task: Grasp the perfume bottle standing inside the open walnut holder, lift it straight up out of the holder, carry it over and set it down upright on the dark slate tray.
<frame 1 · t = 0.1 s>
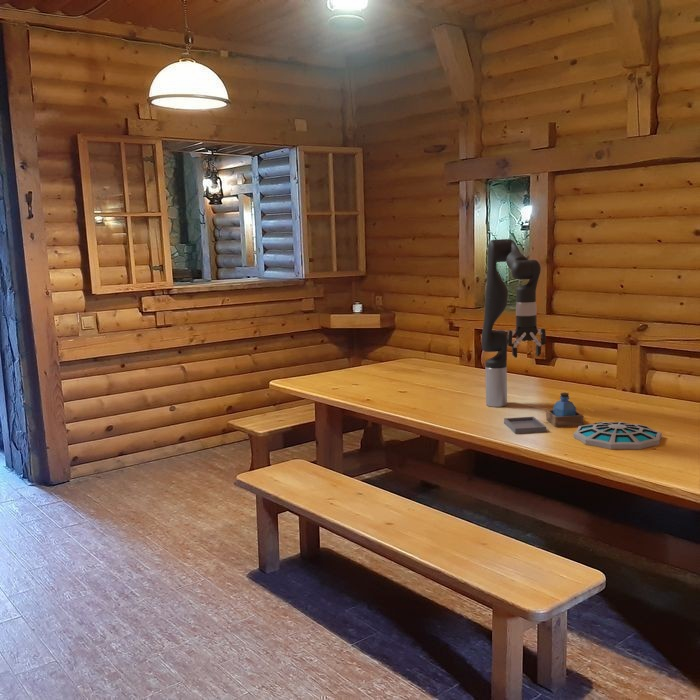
hand: (526, 356, 274), 29 cm above the table, fingers open, 8 cm apart
tray: (524, 427, 285), on the table
decorative platform: (617, 439, 265), on the table
holder: (564, 422, 288), on the table
perfume bottle: (564, 423, 288), resting in holder
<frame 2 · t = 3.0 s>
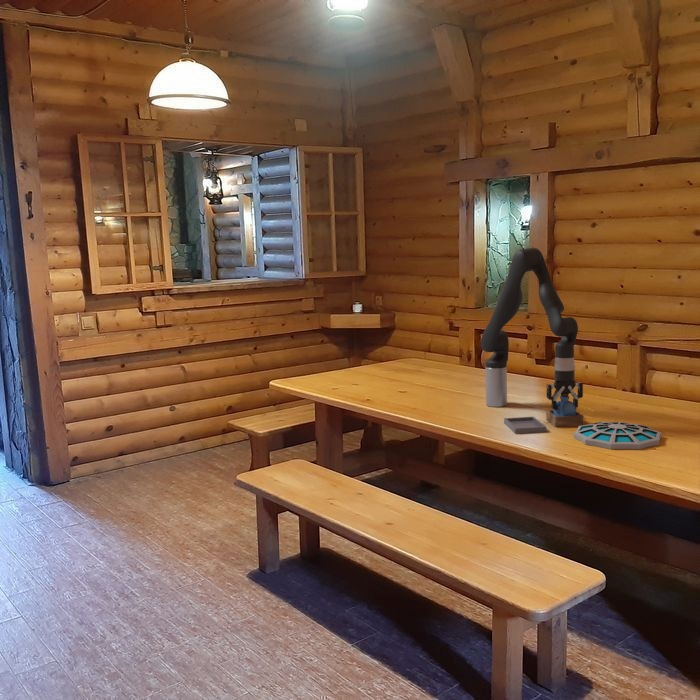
hand: (564, 409, 287), 6 cm above the table, fingers closed on perfume bottle, 7 cm apart
perfume bottle: (564, 423, 288), resting in holder, touching gripper
everything else where it was.
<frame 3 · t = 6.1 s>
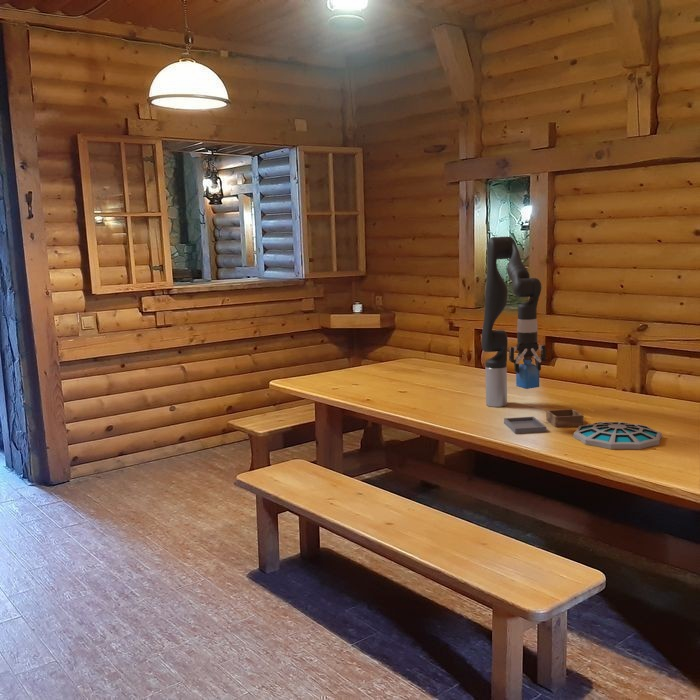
hand: (527, 372, 281), 22 cm above the table, fingers closed on perfume bottle, 7 cm apart
perfume bottle: (527, 387, 282), point 16 cm above the table, touching gripper
everything else where it was.
when the fingers open (8 cm above the table, at t = 9.6 s): perfume bottle drops 1 cm, resting on tray.
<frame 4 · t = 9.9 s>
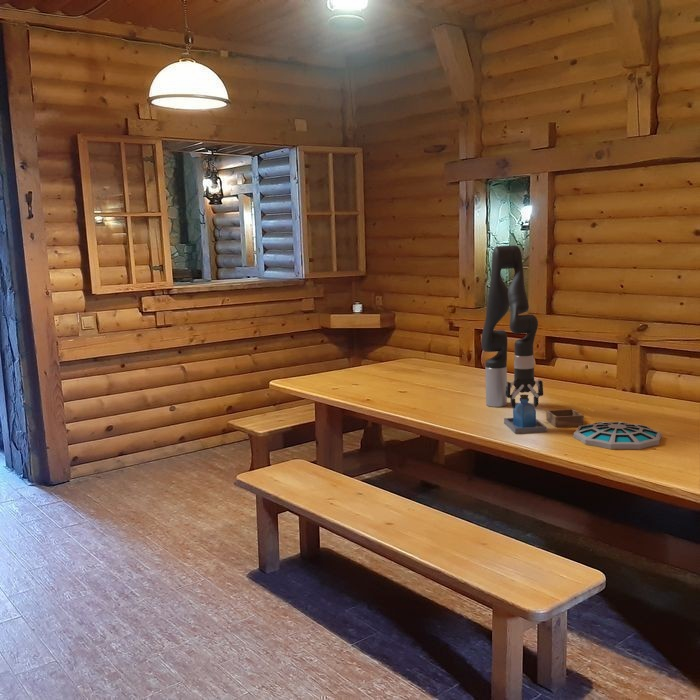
hand: (524, 407, 283), 8 cm above the table, fingers open, 8 cm apart
perfume bottle: (524, 425, 285), point 1 cm above the table, touching tray
everything else where it was.
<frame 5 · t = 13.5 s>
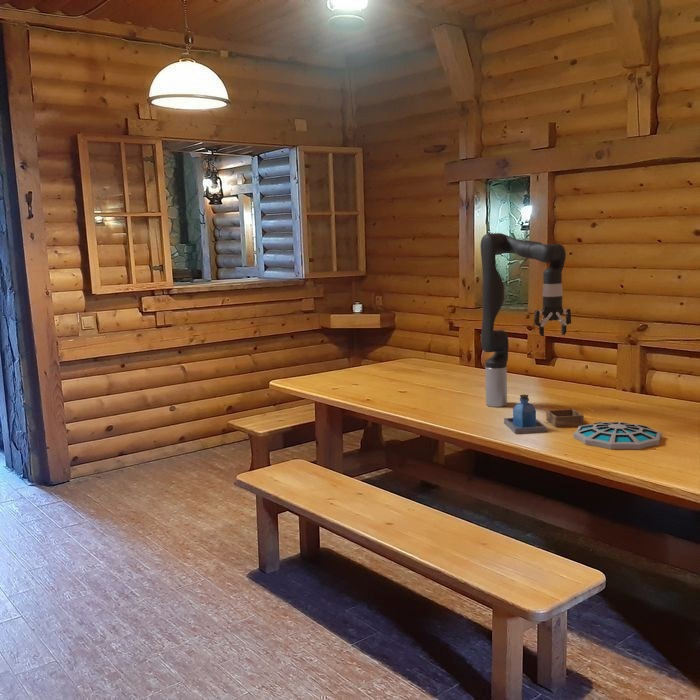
hand: (552, 335, 291), 34 cm above the table, fingers open, 8 cm apart
nothing on the table moved.
at the end: perfume bottle inside the target area on the tray (0.1 cm from its centre), point 0.6 cm above the tray's base; perfume bottle tilted 0°; the gripper is holding nothing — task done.
